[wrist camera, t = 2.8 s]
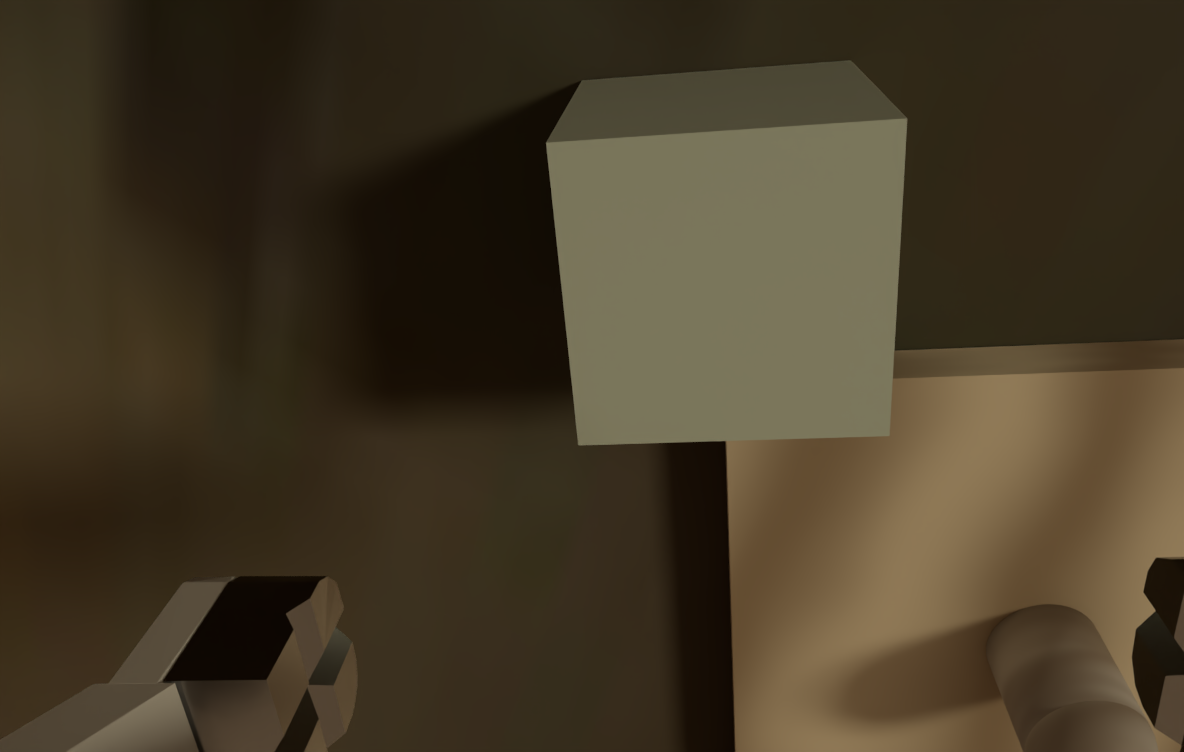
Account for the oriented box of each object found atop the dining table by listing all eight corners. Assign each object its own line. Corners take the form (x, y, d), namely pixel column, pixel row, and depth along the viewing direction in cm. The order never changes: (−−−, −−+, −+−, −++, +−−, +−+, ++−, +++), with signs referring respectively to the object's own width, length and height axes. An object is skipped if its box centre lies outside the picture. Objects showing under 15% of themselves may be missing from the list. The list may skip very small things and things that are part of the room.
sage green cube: (850, 60, 21) (906, 118, 15) (843, 311, 23) (889, 436, 18) (582, 80, 21) (546, 142, 16) (603, 322, 24) (578, 445, 19)
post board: (1427, 329, 22) (1673, 474, 17) (1272, 815, 29) (1409, 1031, 24) (722, 357, 24) (732, 496, 18) (736, 807, 31) (746, 1006, 26)
